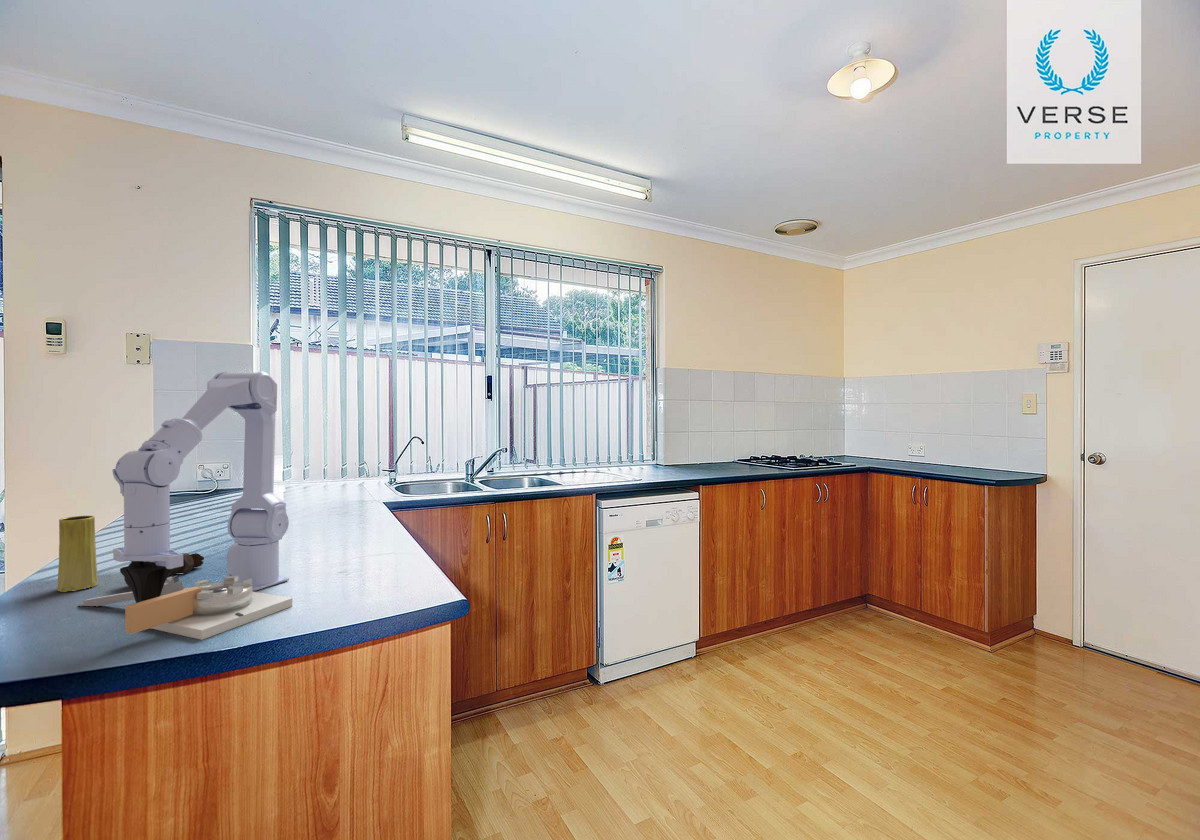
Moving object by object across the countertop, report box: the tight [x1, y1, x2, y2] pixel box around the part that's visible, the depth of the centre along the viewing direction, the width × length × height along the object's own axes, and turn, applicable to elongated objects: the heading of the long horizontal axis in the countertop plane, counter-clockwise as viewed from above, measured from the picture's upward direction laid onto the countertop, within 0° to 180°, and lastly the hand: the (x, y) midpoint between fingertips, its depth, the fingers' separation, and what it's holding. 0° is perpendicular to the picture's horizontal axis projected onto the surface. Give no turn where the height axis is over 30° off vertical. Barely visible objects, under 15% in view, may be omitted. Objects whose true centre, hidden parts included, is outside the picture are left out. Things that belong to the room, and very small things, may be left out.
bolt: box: [123, 552, 205, 587], centre depth 118 cm, size 6×5×15 cm
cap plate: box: [150, 591, 293, 641], centre depth 95 cm, size 16×16×2 cm
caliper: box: [77, 575, 185, 607], centre depth 99 cm, size 20×1×6 cm, turn 85°
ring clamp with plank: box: [124, 575, 253, 634], centre depth 91 cm, size 18×10×4 cm, turn 159°
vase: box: [56, 515, 99, 592], centre depth 110 cm, size 6×6×14 cm
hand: (147, 607), depth 88 cm, fingers closed
